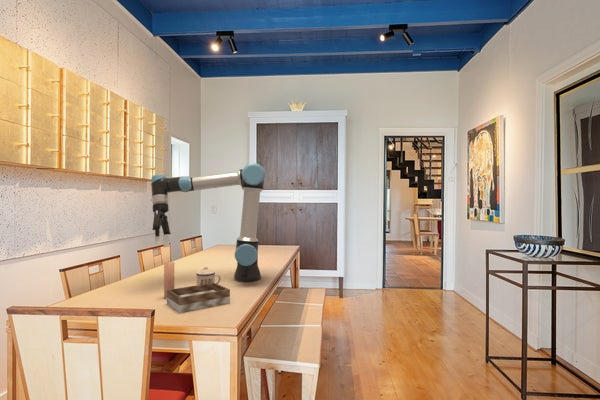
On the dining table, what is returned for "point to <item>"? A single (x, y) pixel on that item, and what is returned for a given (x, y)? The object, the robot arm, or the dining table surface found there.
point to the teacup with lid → (206, 276)
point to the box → (197, 297)
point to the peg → (168, 277)
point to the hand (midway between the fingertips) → (162, 245)
